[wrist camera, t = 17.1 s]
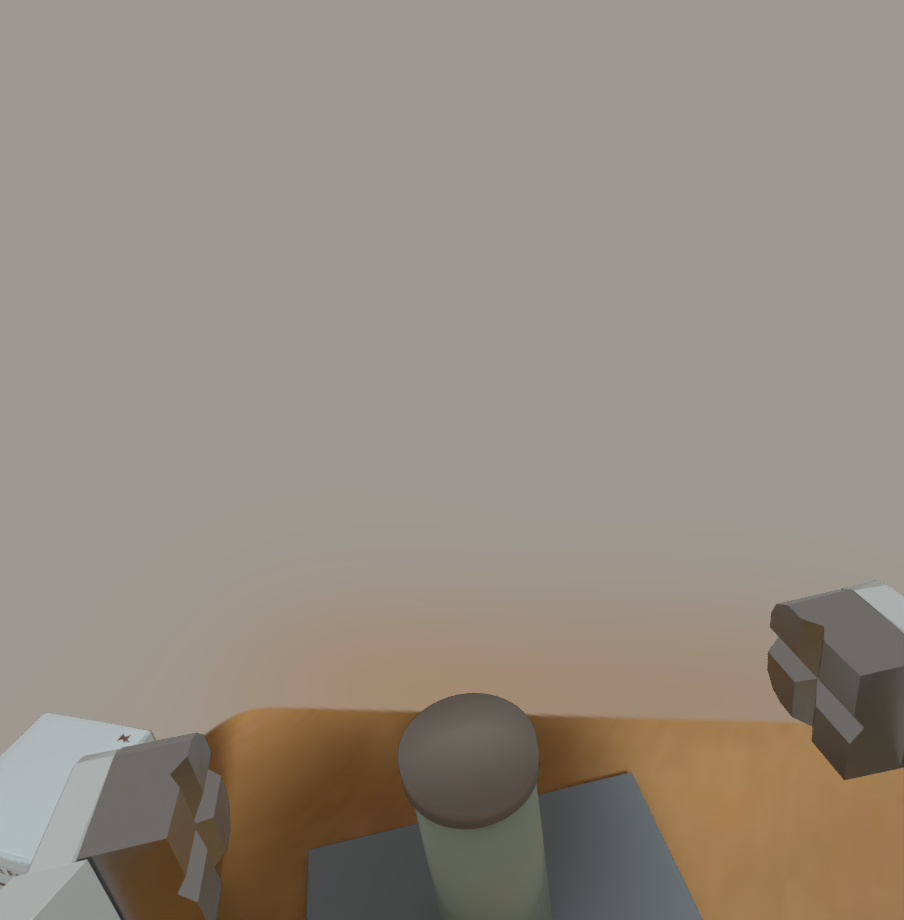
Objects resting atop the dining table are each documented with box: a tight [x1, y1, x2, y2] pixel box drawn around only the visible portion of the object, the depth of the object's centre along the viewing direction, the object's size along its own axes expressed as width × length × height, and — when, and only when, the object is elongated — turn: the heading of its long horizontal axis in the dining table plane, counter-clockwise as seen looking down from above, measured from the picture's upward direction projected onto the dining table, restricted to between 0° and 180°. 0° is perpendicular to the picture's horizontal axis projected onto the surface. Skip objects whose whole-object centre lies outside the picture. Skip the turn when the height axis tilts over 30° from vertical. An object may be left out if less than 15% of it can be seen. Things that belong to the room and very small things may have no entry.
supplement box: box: [0, 713, 156, 890], centre depth 35 cm, size 7×7×13 cm
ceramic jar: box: [398, 693, 553, 920], centre depth 32 cm, size 6×6×13 cm
